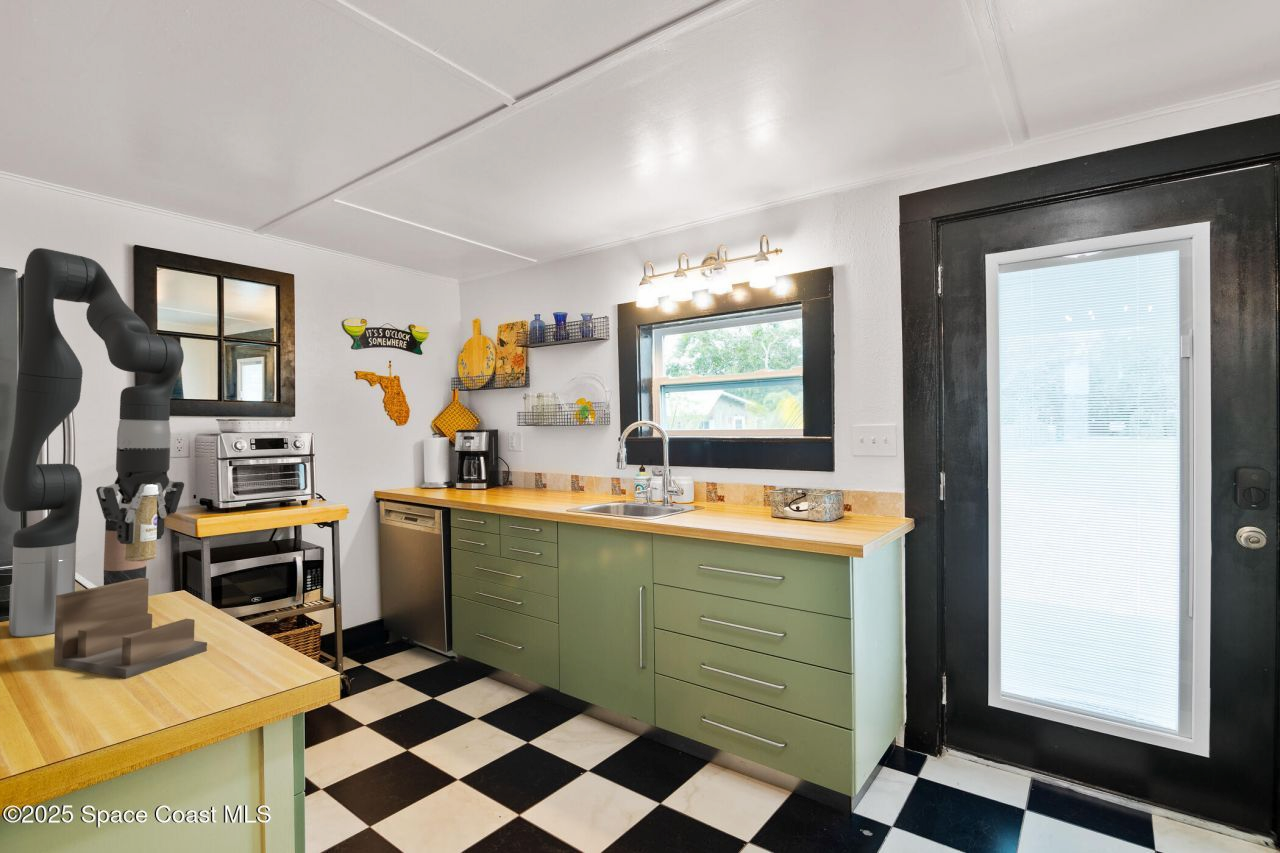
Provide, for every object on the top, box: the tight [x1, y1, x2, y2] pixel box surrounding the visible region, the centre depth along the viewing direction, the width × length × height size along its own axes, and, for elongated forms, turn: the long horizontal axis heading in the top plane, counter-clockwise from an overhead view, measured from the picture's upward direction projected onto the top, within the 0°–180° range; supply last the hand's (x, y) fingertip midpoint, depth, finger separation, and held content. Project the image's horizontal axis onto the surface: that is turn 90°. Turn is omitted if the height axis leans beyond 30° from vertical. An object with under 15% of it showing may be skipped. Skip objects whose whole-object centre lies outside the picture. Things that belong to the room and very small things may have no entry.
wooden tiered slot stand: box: [53, 577, 208, 679], centre depth 112 cm, size 17×14×12 cm
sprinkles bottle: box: [125, 484, 159, 561], centre depth 112 cm, size 5×5×13 cm
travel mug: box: [103, 519, 148, 586], centre depth 144 cm, size 8×8×20 cm
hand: (140, 540), depth 112 cm, fingers closed on sprinkles bottle, 4 cm apart
